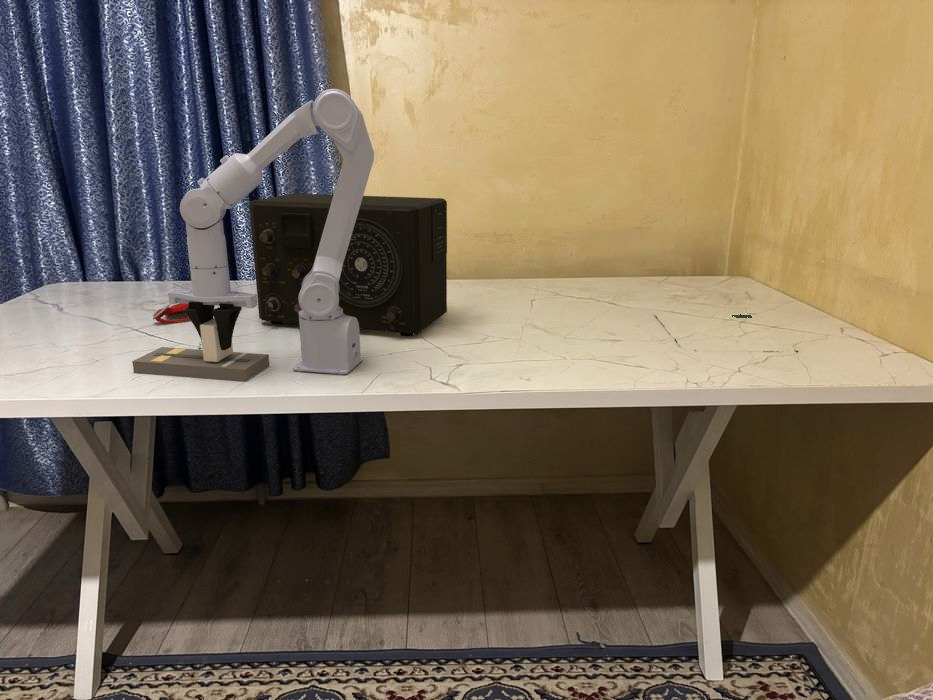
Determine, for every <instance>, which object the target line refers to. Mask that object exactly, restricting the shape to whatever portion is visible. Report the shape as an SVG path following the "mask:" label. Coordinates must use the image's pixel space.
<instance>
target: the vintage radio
mask: <svg viewBox="0 0 933 700" xmlns="http://www.w3.org/2000/svg"><path fill="white" fill-rule="evenodd" d="M333 195H334V194H323V193H322V194H321V193H319V194H318V193H314V194H313V193H295V192H294V193H289V194H284V195H283V194H282V195H278V196H272V197H266V198H260V199H253V200H251V201H249V203H248V204H249V214H250V225H251V236H252V237H251V238H252V249H253V260H254V261H253V262H254V274H255V283H256V294H257V304H258V305H257V308H258V318H259V319H260V320H261V321H266V322H270V325H273V326H279V325H282V324H284V323H287V324H298V325H299V311H301V310H302V309H301V307H300V305H299V299H298V298H299V293H300V290H301V288H302V282H303V280H304V278H305V276H306V275H307V274H308V273H309V272H310V271H311V270H312V268H313V265H314V261H315V258H316V255H317V251H318V248H319V244H320V241H321V237H322V234H323V230H324V227H325V223H326V220H327V216H328V213H329V209H330V206H331V202H332V199H333ZM447 205H448V202H447V200H446V199H445V198H443V197H442V198H440V197H416V196H415V197H411V196H409V197H408V196H382V195H381V196H379V195H378V196H377V195H363V198H362V201H361V205H360V208H359V212H358V215H357V218H356V222H355V225H354V229H353V232H352V235H351V239H350V242H349V245H348V249H347V252H346V256H345V259H344V262H343V266H342V271H341V275H340V279H339V294H338V295H339V304H338V305H339V306H340V308H342V309H343V314H345V315H347V316H352V317H355V318H357V320H358V323H359V330H366V331H379V332H386V333H387V332H388V333H399V335H400V336H401V337H403V338H405V337H406V338H407V337H408V338H409V337H413V336H414V335H418V334H420V333H422V332H423V331H424V330H426V329H427V328H428V327H430V326H431V325H432V324H433V323H435V322H436V321H437V320H439V319H440V318H442V316H444V315H445V314H446V313H447V312H448V304H447V303H448V293H447V291H448V284H447V283H448V281H447V279H448V276H447V273H448V272H447V270H448V268H447V267H448V266H447V263H448V262H447V260H448V259H447V257H448V256H447V253H448V216H447V215H448V206H447Z"/></svg>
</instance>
